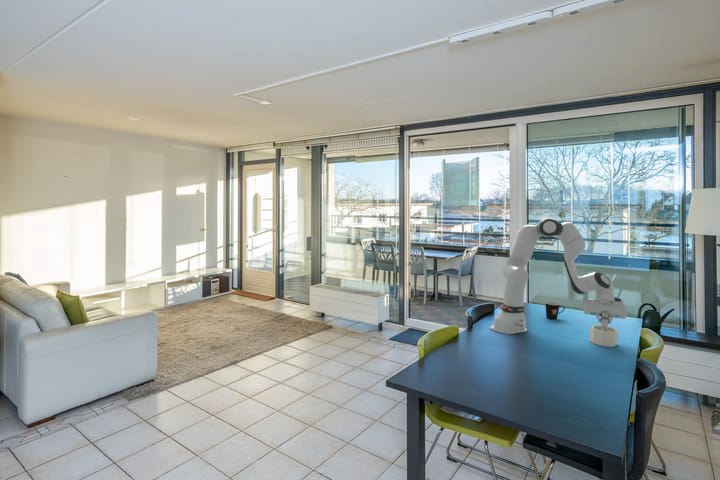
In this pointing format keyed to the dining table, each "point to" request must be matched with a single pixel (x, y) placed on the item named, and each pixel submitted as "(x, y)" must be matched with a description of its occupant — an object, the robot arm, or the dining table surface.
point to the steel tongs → (604, 320)
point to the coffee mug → (552, 310)
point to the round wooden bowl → (603, 336)
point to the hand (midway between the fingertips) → (604, 322)
